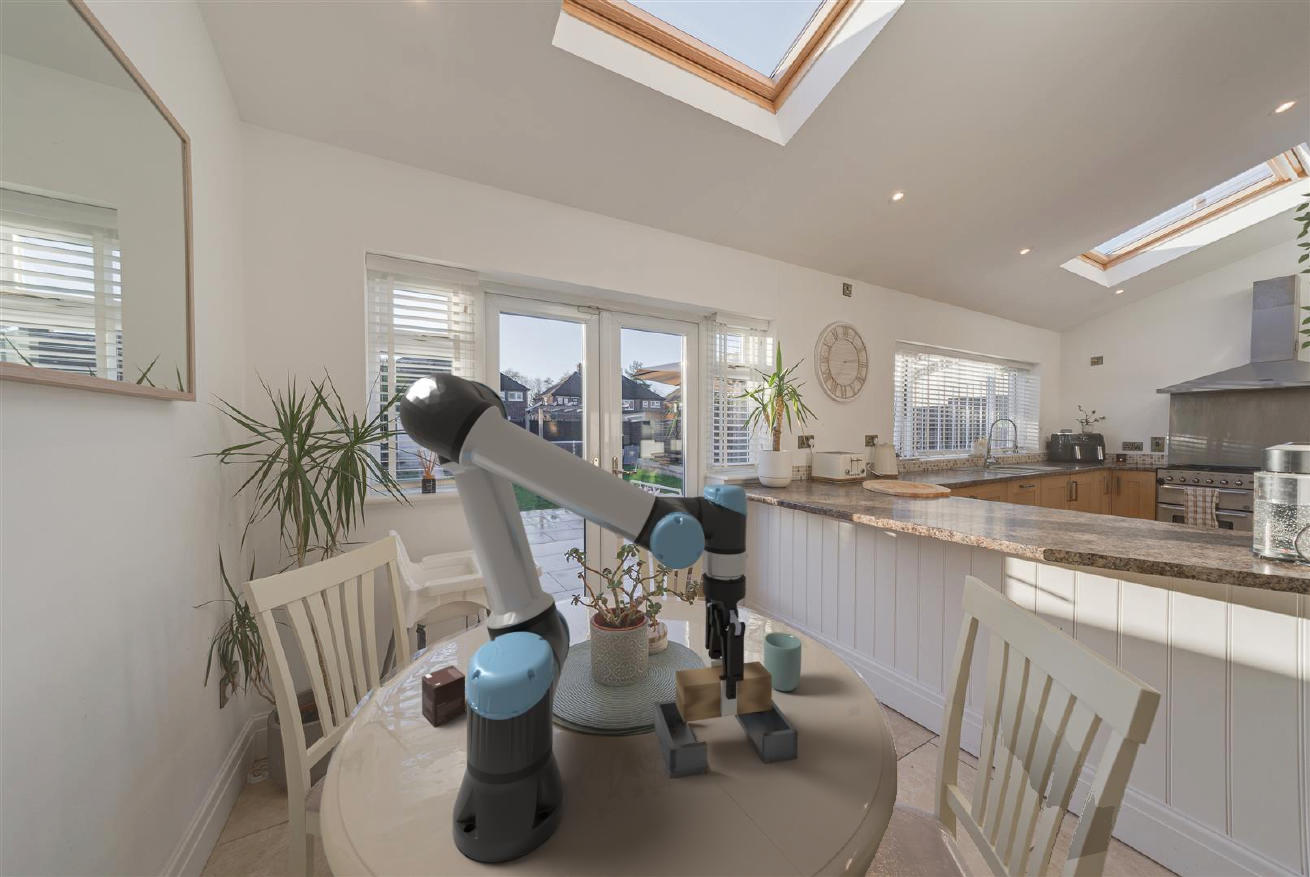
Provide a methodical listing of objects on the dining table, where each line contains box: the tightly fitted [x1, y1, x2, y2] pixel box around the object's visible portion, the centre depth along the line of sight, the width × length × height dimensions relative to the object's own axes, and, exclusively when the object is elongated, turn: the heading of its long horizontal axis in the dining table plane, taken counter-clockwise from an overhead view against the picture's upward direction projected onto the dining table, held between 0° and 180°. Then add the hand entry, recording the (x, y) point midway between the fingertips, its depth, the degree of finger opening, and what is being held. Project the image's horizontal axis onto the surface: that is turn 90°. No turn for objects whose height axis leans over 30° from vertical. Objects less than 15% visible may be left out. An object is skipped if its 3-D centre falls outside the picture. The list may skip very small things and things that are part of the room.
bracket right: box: [734, 699, 799, 764], centre depth 81 cm, size 6×13×4 cm, turn 12°
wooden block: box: [675, 660, 773, 723], centre depth 79 cm, size 16×5×6 cm, turn 102°
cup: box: [763, 631, 803, 692], centre depth 97 cm, size 8×8×10 cm
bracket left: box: [653, 699, 708, 779], centre depth 77 cm, size 6×13×4 cm, turn 12°
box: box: [421, 664, 466, 727], centre depth 86 cm, size 6×6×7 cm
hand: (722, 704), depth 79 cm, fingers closed on wooden block, 5 cm apart
